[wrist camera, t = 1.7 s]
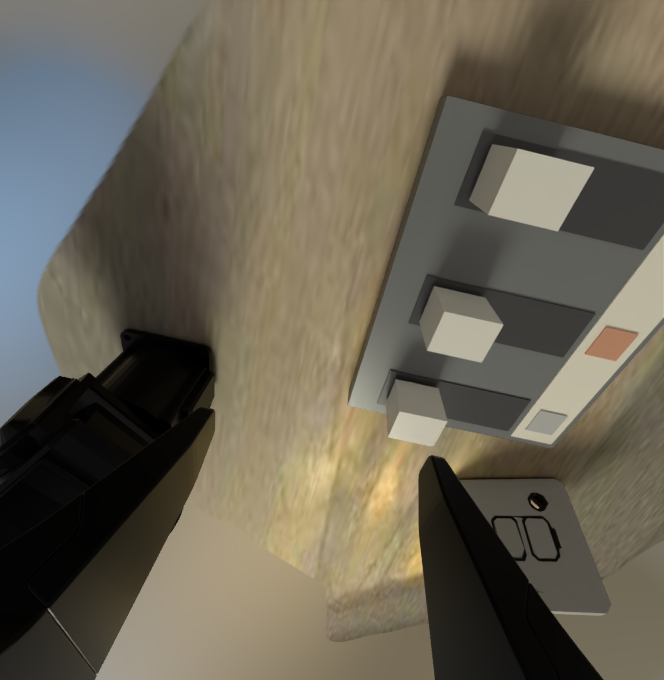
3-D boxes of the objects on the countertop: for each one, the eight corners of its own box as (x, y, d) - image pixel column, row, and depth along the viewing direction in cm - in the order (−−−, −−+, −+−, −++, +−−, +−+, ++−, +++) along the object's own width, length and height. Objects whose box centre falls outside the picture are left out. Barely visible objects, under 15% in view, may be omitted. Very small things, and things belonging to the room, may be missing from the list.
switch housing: (348, 392, 26) (347, 407, 25) (440, 97, 16) (448, 95, 14) (543, 433, 27) (553, 450, 25) (758, 177, 16) (795, 182, 15)
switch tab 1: (385, 404, 24) (387, 437, 21) (395, 379, 22) (399, 411, 20) (426, 412, 24) (433, 446, 21) (438, 388, 23) (447, 421, 20)
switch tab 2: (419, 321, 20) (426, 350, 17) (434, 286, 19) (444, 311, 16) (467, 332, 20) (481, 362, 18) (485, 297, 19) (503, 324, 16)
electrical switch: (561, 475, 29) (625, 606, 22) (546, 503, 32) (599, 626, 25) (450, 476, 31) (477, 600, 24) (447, 502, 34) (469, 619, 27)
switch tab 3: (468, 200, 16) (488, 214, 14) (492, 144, 15) (517, 148, 12) (528, 214, 16) (557, 231, 14) (556, 160, 15) (594, 167, 12)
